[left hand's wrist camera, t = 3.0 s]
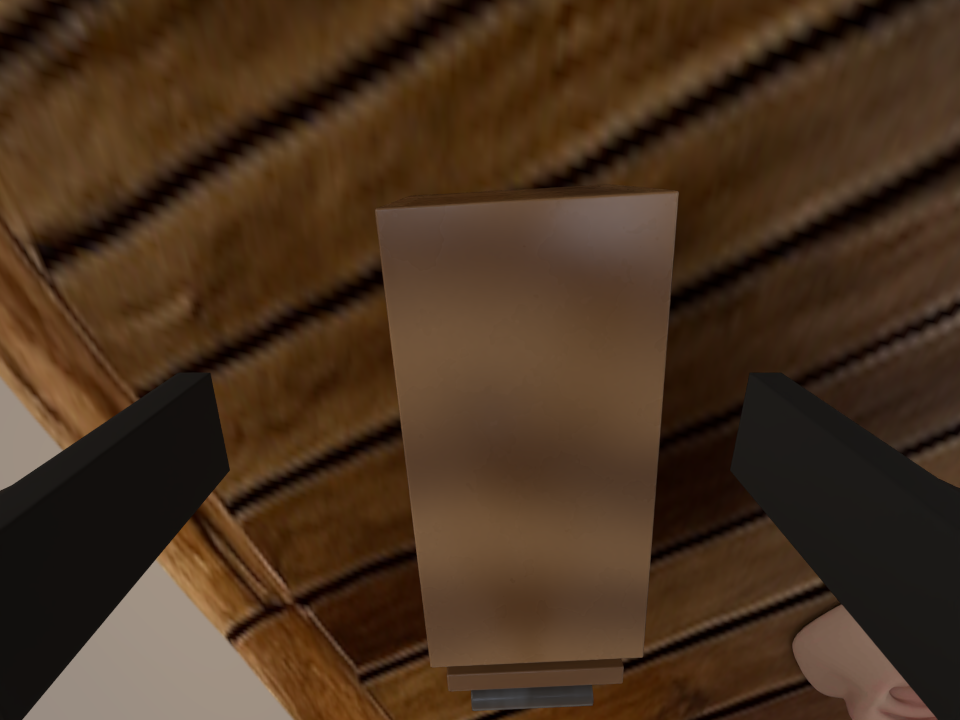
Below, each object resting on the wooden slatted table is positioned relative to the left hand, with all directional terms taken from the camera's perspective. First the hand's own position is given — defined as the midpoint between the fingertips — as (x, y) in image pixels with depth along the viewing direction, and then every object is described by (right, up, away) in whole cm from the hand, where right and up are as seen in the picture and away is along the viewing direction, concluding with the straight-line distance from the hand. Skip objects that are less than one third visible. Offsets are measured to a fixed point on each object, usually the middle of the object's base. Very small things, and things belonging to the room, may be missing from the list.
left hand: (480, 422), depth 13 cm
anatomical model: (+30, -19, +25) cm, 43 cm away
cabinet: (+2, 0, +17) cm, 17 cm away
